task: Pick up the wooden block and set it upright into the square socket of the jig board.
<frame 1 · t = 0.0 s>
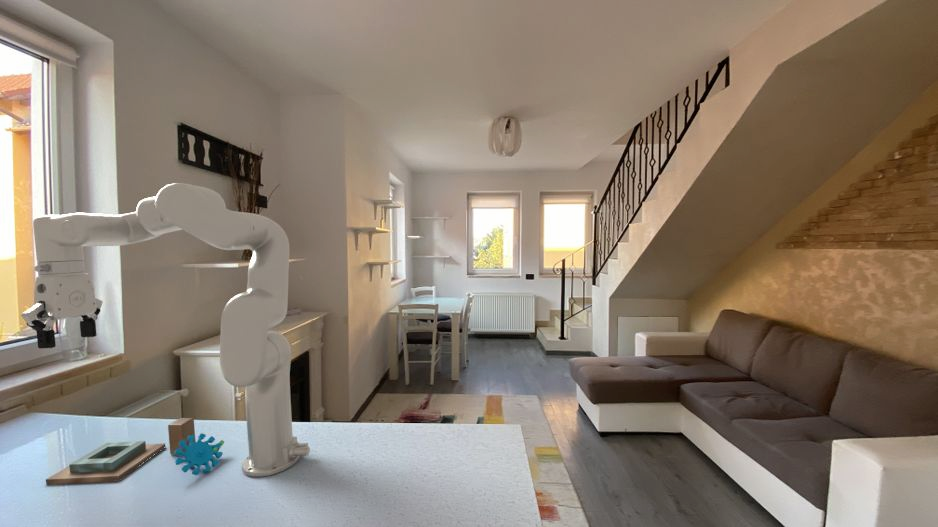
hand: (69, 342, 90), 31 cm above the table, tool pointing down, fingers open, 9 cm apart
gear: (202, 468, 92), on the table
jig: (110, 464, 94), on the table
wooden block: (183, 451, 100), on the table
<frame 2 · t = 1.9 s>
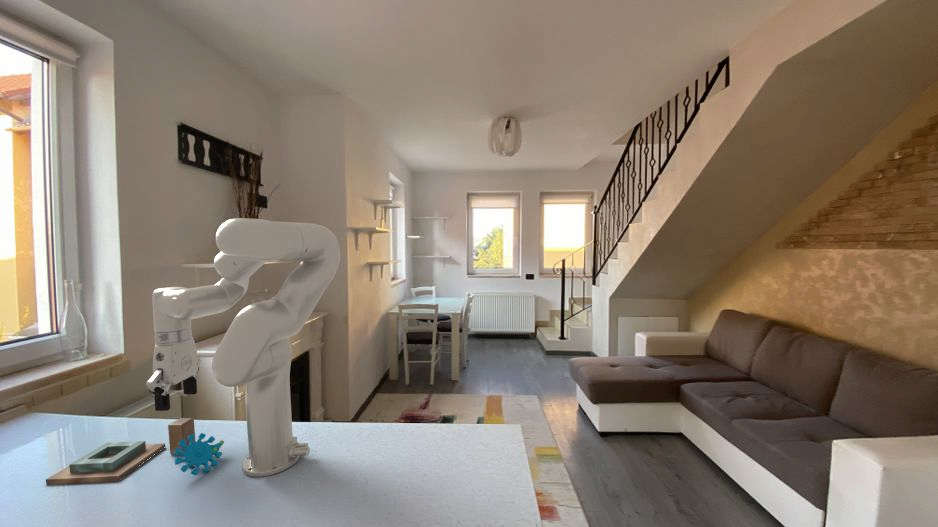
hand: (177, 401, 99), 13 cm above the table, tool pointing down, fingers open, 9 cm apart
nothing on the table moved.
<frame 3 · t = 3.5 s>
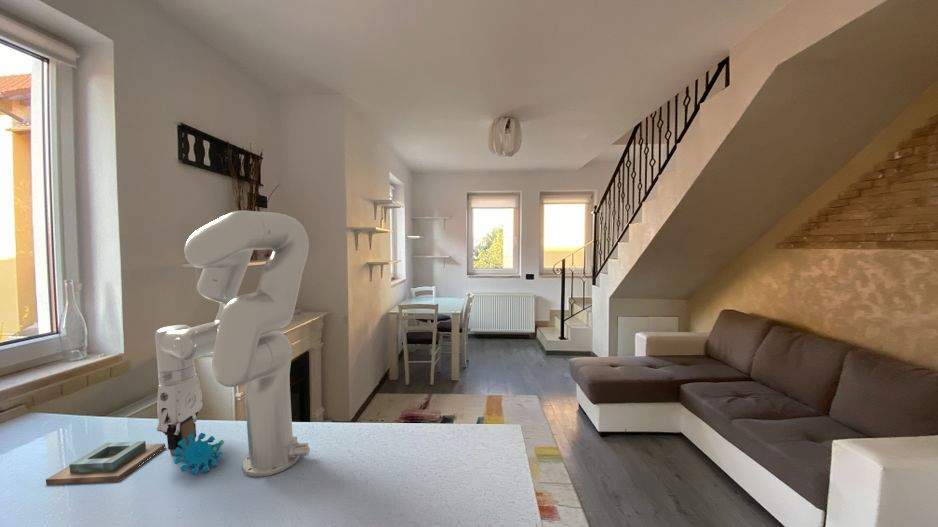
hand: (182, 442, 99), 2 cm above the table, tool pointing down, fingers closed on wooden block, 4 cm apart
wooden block: (183, 451, 100), on the table, touching gripper
everything else where it was.
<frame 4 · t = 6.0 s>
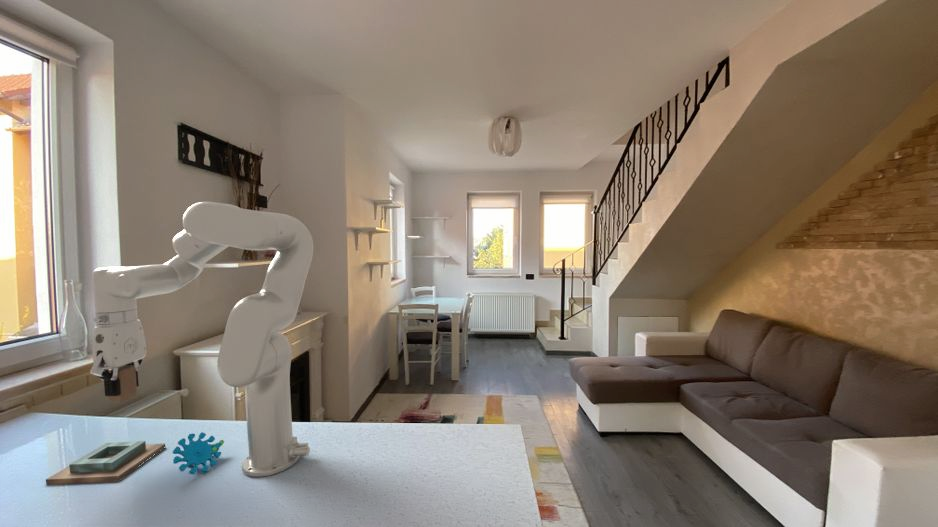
hand: (122, 390, 94), 18 cm above the table, tool pointing down, fingers closed on wooden block, 4 cm apart
wooden block: (123, 399, 95), point 16 cm above the table, touching gripper
everything else where it was.
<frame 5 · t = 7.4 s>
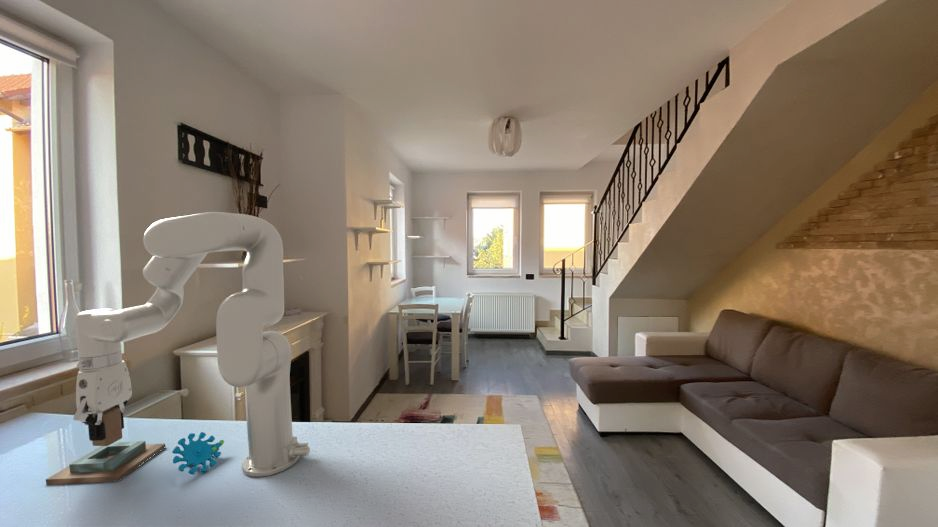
hand: (107, 433, 94), 8 cm above the table, tool pointing down, fingers closed on wooden block, 4 cm apart
wooden block: (107, 443, 94), point 6 cm above the table, touching gripper
everything else where it was.
when the fingers open (4 cm above the table, at t = 8.5 s): wooden block stays where it is, resting on jig.
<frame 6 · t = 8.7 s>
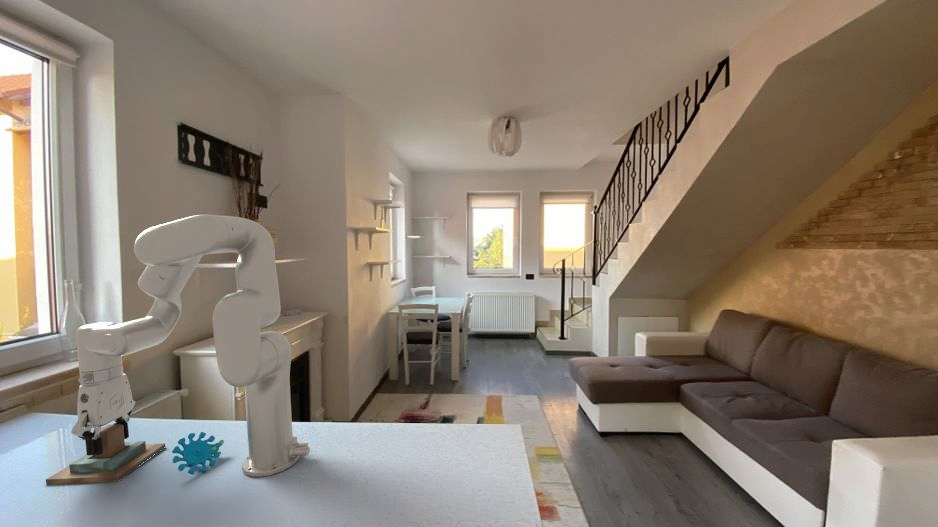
hand: (108, 445, 94), 5 cm above the table, tool pointing down, fingers open, 6 cm apart
wooden block: (110, 460, 94), point 1 cm above the table, touching jig
everything else where it was.
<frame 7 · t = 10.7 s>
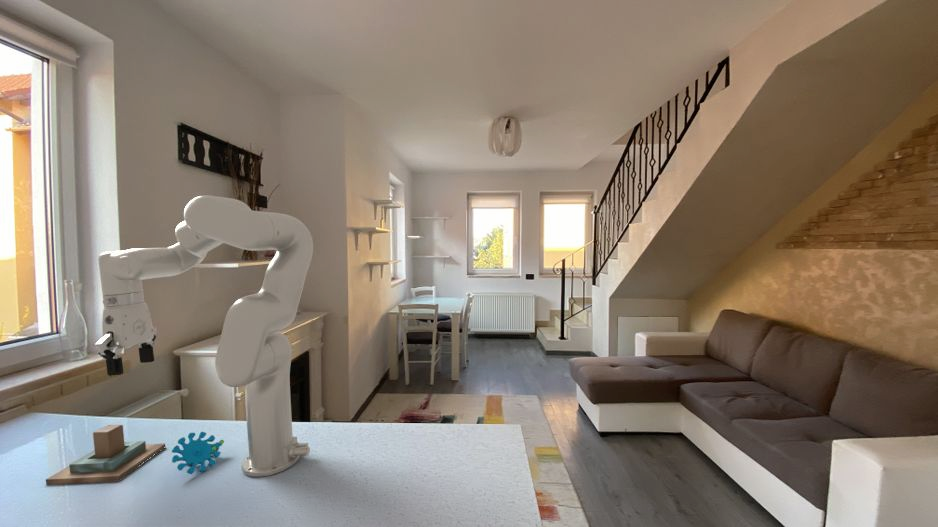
hand: (132, 368, 97), 23 cm above the table, tool pointing down, fingers open, 9 cm apart
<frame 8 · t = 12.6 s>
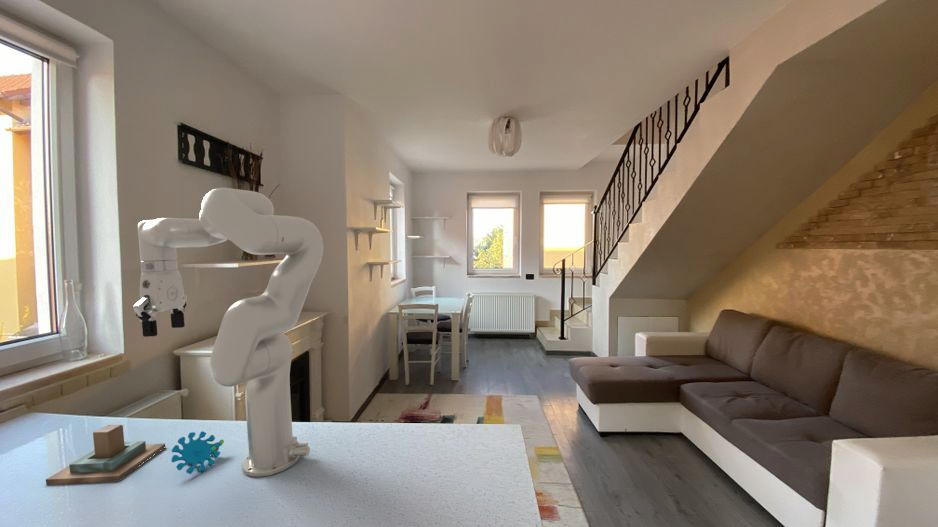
hand: (164, 331, 102), 30 cm above the table, tool pointing down, fingers open, 9 cm apart
at the end: wooden block 0.2 cm from the jig (horizontally); wooden block point 1.0 cm above the table; wooden block tilted 0° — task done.
